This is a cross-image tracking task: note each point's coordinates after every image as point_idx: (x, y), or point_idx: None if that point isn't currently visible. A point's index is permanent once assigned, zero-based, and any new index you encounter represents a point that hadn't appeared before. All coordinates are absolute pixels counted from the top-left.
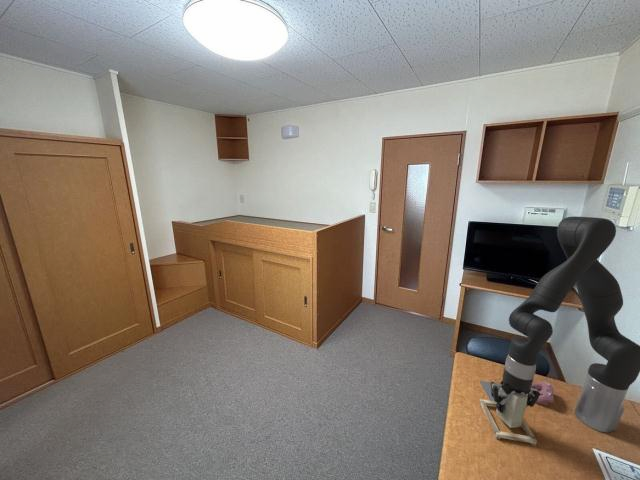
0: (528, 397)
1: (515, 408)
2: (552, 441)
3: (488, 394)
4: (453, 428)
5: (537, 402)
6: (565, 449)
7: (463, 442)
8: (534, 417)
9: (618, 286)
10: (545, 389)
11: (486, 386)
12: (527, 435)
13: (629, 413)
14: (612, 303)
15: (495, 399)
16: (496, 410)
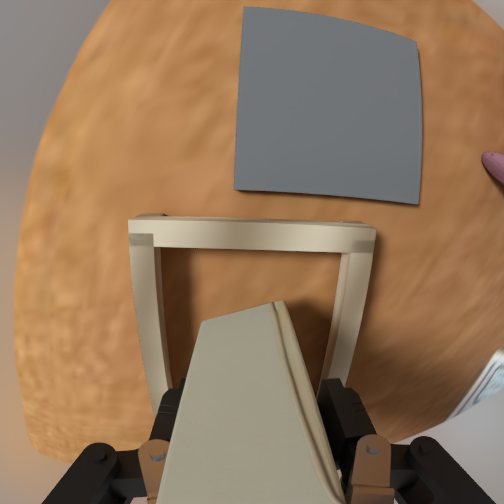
0: (430, 480)
1: None
2: (408, 374)
3: (242, 123)
4: (22, 368)
5: (495, 177)
6: (422, 389)
7: (53, 410)
8: (433, 265)
9: None
10: None
11: (266, 49)
12: (316, 396)
13: None
14: None
15: (105, 496)
16: (198, 333)
